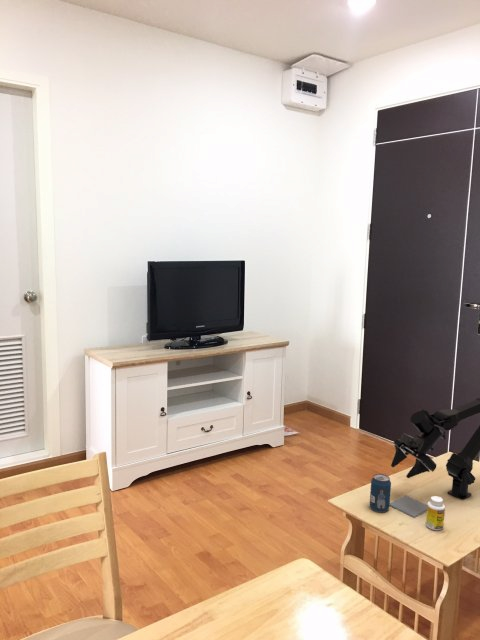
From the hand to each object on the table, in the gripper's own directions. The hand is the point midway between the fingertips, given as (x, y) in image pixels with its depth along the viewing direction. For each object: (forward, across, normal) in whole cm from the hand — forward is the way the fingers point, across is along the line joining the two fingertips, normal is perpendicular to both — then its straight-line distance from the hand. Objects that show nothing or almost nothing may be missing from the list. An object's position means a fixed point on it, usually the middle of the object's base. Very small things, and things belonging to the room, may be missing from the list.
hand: (399, 471), depth 193 cm
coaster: (+6, +2, +12) cm, 14 cm away
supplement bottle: (+7, +16, +12) cm, 21 cm away
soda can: (+15, 0, +4) cm, 15 cm away
